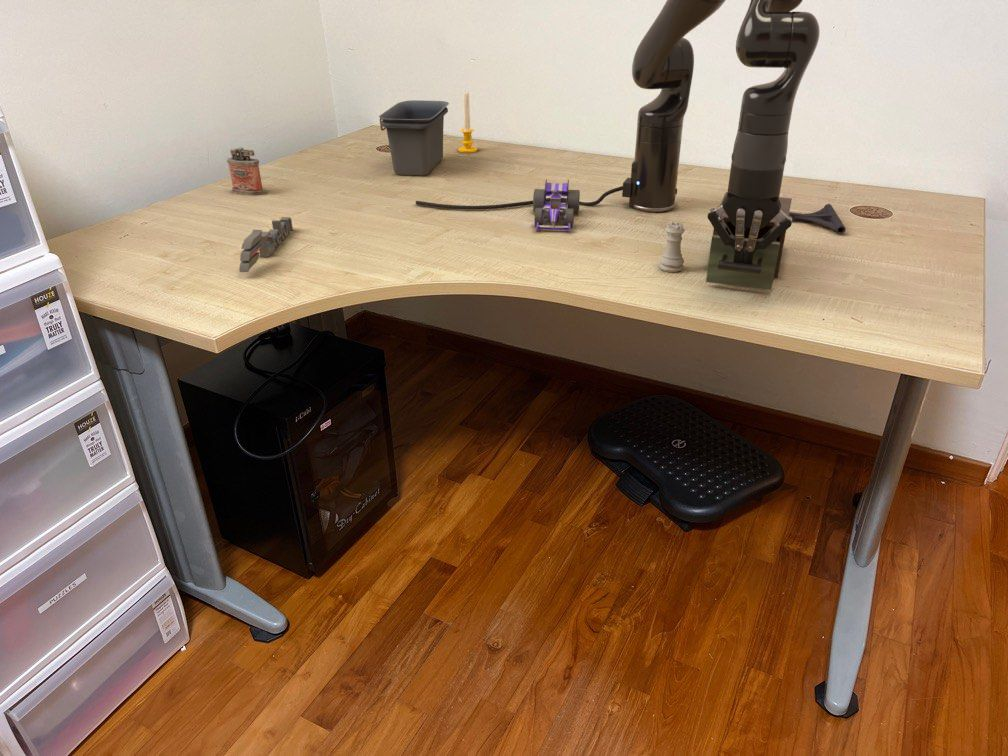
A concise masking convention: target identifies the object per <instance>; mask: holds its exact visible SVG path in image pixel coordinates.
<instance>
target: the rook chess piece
mask: <svg viewBox="0 0 1008 756" xmlns="http://www.w3.org/2000/svg"><path fill="white" fill-rule="evenodd" d="M664 230H665V232H666V234H667V235H666V237H665V240H666V243H665V246H664V251H663V252H662V253H661V256H660V257H659V258H658V262H659V263H658V265H657V266H658V268H659V269H660V270H661V271H663V272H666V273H679V272H681V271H682V270H683V269H684V268H685V265H684V263H685V259H684V257H683V254H682V248H681V247H682V246H681V245H682V240H683V237H682V235H683V234H684V232H685V231H686V230H685V228H684V224H683V223H682V222H681V223H680V222H678V221H676V222H674V221H671V222H668V223H667V226H666V227H665V229H664Z"/></svg>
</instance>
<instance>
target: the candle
mask: <svg viewBox="0 0 1008 756" xmlns="http://www.w3.org/2000/svg"><path fill="white" fill-rule="evenodd" d="M462 97H463V98H462V107H463V128H462V129H460V130H459V132H461V133H462V134H463V136H462V138H463V140H461V144H462V145H463V146H461V147H458V153H461V154H472V153H476V152H478V148H477V147H476V146H472V145H473V144H474V140H472V138H473V137H472V133H474V132H475V129H473V128H471V116H470V115H471V114H470V112H471V111H470V93H469V92H467V91H465V92H464V93H463V94H462Z"/></svg>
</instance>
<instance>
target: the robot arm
mask: <svg viewBox="0 0 1008 756" xmlns="http://www.w3.org/2000/svg"><path fill="white" fill-rule="evenodd" d="M726 1H727V0H666V1H665V3H664V4H663V7H662V9H660V12H659V13H658V15H657V16H656V18H655V19H654V22H653V23H652V24H651V25H650V27H649V28H648V30H647V32H646V33H645V34H644V36H643V37H642V39H641V40H640V42H639V44H638V46H637V48H636V50H635V52H634V55H633V59H632V63H631V77H632V80H633V82H634V84H635V85H636V86H637V87H638V88H640V89H644V90H650V91H651V90H660V92H659V94H658V95H657V96H656V97H655V98H654V99H653V100H651V101H650V102H648V103H647V104H644V105H643V106H641V107H639V110H638V111H637V123H636V124H637V125H636V134H635V135H636V137H635V151H634V160H633V161H632V162H631V169H630V170H631V171H630V177H627V178H626V179H625V180H624V181H623V182H622V186H621V185H620V186H617V187H615V188H611V189H609V190H607V191H605V192H604V193H602V194H601V196H599V198H597V199H596V200H595V201H590V202H586V201H580V200H579V206H584V207H594V206H597V205H599V204H601V202H603V200H604V199H605V198H607V196H609V195H611V194H614V193H617V192H621V191H622V192H621V197H622V198H628V208H633V209H636V210H639V211H643V212H650V213H651V212H652V213H662V212H668V211H670V210H671V211H672V210H673V209H675V208H676V196H677V195H678V188H677V187H678V185H677V184H678V176H679V167H680V157H681V147H682V140H683V139H682V137H683V127H684V120H685V119H684V118H685V116H686V113H687V111H688V107H689V102H690V94H691V88H692V84H693V83H692V82H693V75H694V69H695V54H694V47H693V45H692V43H691V41H690V40H689V39H687V38H685V36H687V34H689V33H690V32H691V31H693V30H694V29H696V28H697V27H698V26H700V25H701V24H702V23H704V22H705V21H706V20H707V19H709V18H710V17H711V16H712V15H713V14H715V13H716V12H717V11H718V10H719V9H720V8H721V7H722V6H723V5H724V4H725V2H726ZM803 1H804V0H750V2H749V6H748V8H747V10H746V13H745V15H744V18H743V20H742V22H741V25H740V28H739V31H738V33H737V37H736V39H735V53H736V56H737V59H738V60H739V62H740V63H741V64H742V65H743V66H745V67H748V68H753V69H754V68H757V69H760V68H761V69H762V68H763V69H765V68H767V69H772V68H773V69H784V70H783V71H782V73H781V74H780V75H779V76H778V78H776V79H775V80H773V81H769V82H766V83H760V84H755V85H752V86H750V87H748V88H746V89H745V90H744V92H743V94H742V97H741V105H740V110H739V111H740V112H739V119H738V126H737V132H736V135H735V139H734V143H733V148H732V153H731V163H730V171H729V179H728V184H727V185H728V186H727V191H726V192H727V196H726V197H725V198H724V200H723V199H722V200H723V203H722V205H720V204H719V206H717V207H712V208H710V209H709V211H708V213H707V220H708V221H709V223H710V224H711V226H712V227H713V229H715V230H716V232H717V233H718V235H719V237H720V238H721V240H722V241H723V243H724V244H725V245H726V246H729V245H730V246H732V247H733V248H734V249H735V253H734V260H733V262H737V263H746V264H752V262H753V256H754V252H755V251H756V250H758V249H766V248H767V247H768V246H769V245H770V244H771V243H772V242H774V241H775V240H776V239H777V238H778V237H779V236H780V235H781V234H783V233H784V232H785V231H786V232H787V230H788V229H790V228H791V227H792V224H793V222H792V217H791V216H790V215H786V214H785V213H784V212H783V211H782V210H781V203H780V200H779V197H780V194H781V188H782V183H783V176H784V171H785V166H786V162H787V154H788V147H789V131H790V125H791V120H792V114H793V108H794V103H795V100H796V96H797V93H798V90H799V88H800V85H801V82H802V79H803V77H804V76H805V73H806V71H807V69H808V67H809V65H810V63H811V61H812V58H813V56H814V54H815V52H816V49H817V47H818V43H819V40H820V33H821V32H820V25H819V21H818V19H817V18H816V16H815V15H814V14H813V13H811V12H808V11H794V10H796V9H797V8H798V7H799V6H800V5H801V4H802V3H803ZM546 198H547V200H550V198H551V197H546ZM561 199H562V200H563V201H566V199H567V197H561ZM567 201H568V199H567ZM415 205H416V206H417V205H418V206H424V207H429V208H430V207H431V208H437V209H447V210H465V211H466V210H468V211H470V210H471V211H473V210H474V211H475V210H477V211H481V210H497V209H506V208H514V207H515V208H516V207H523V206H531V205H532V206H533V199H531V200H525V201H517V202H509V203H501V204H488V205H487V204H486V205H485V204H484V205H463V204H460V205H459V204H446V203H445V204H444V203H436V202H428V201H424V200H423V201H422V200H415ZM724 211H725V212H726V214H727V216H728V217H729V219H730V221H731V223H732V224H733V225H734V226H735V227H736V233H735V236H736V237H735V236H733V234H732V233H731V231H730V230H729V228H728V227H727V225H726V224H725V222H724V220H723V219H724V217H725V215H724ZM775 216H776V217H777V218H776V220H775V223H774V225H775V226H774V227H773V228H772V229H771V230H770V231H768V232H767V233H766V234H765V235H764V236H763V237H762V238H761V239H757V236H758V232H759V229H762V228H764V227H765V226H766V225H767V224H768V223H769V222H770V221H771V220H772V219H773V218H774V217H775ZM746 228H748V229H750V234H749V238H748V242H747V246H746V248H745V247H744V244H745V243H744V241H745V230H746ZM736 273H739V272H736ZM744 274H746V273H744Z"/></svg>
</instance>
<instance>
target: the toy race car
mask: <svg viewBox="0 0 1008 756" xmlns="http://www.w3.org/2000/svg"><path fill="white" fill-rule="evenodd" d="M569 183H570V180H569V179H567V182H563V183H561V182H559V183H557V182H548V179H547V178H546V179H545V182H544V188H535V189H534V190H533V194H532V195H533V196H532V200H533V204H532V210H533V213H534V217H533V218H534V219H533V220H534V227H535V228H536V230H535V231H536V232H539V231H567V233H571V228H574V220H575V219H574V218H575V217H574V215H575V214H580V205H579V201H580V196H581V195H580V194H581V191H580V189H569V188H570V187H569V186H570V185H569ZM548 197H549V198H550V200H547V198H548ZM562 197H566V198H567V199H568V201H567V199H566V201H563V200H562V199H561V198H562ZM544 224H552V225H544ZM556 224H564V225H556Z"/></svg>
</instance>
